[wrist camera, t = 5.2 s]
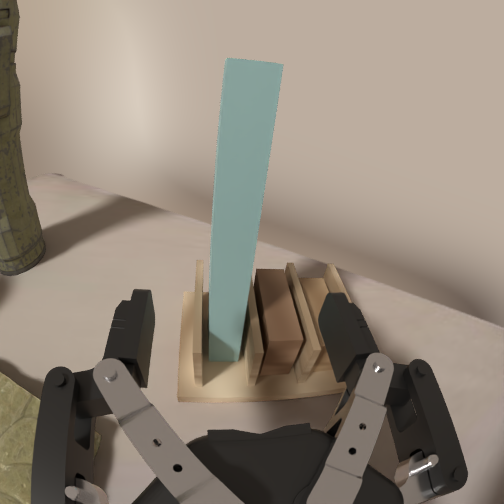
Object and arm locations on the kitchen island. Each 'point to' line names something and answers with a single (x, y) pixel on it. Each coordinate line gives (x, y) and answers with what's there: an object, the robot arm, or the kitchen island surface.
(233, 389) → the beech rack
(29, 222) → the thermos
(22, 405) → the decorative tile
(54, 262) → the kitchen island surface
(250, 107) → the teal board
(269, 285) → the walnut offcut
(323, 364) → the oak offcut
